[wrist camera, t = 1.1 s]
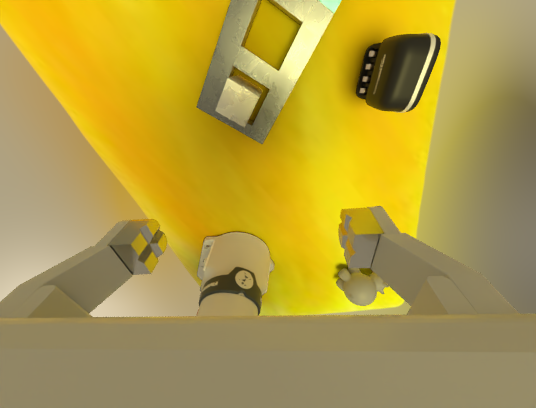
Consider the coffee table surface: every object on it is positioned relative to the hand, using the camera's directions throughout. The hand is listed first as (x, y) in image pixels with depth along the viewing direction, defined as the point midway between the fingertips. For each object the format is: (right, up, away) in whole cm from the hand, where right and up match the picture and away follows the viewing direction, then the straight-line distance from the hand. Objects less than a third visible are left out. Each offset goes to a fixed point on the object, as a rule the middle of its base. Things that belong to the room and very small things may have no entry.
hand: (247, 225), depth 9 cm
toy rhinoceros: (+24, -16, +44) cm, 53 cm away
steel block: (-3, +17, +22) cm, 28 cm away
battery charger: (+15, +20, +20) cm, 32 cm away
